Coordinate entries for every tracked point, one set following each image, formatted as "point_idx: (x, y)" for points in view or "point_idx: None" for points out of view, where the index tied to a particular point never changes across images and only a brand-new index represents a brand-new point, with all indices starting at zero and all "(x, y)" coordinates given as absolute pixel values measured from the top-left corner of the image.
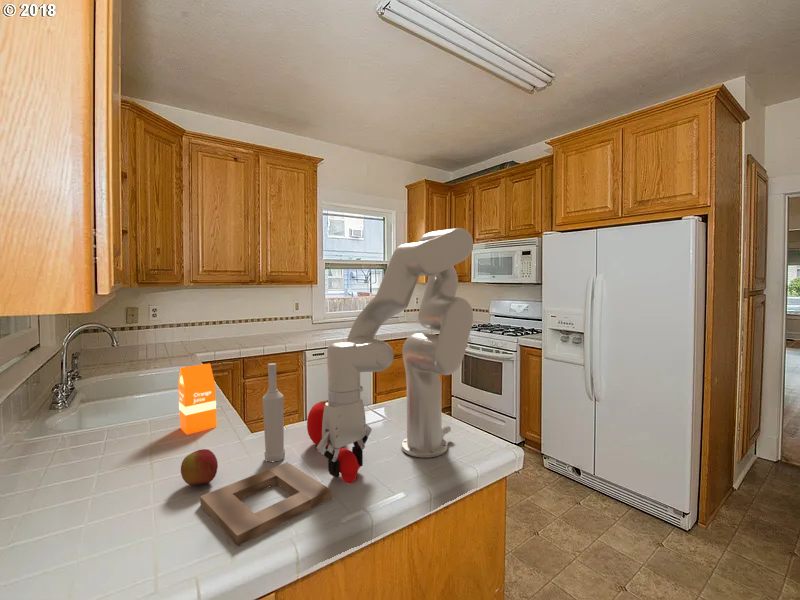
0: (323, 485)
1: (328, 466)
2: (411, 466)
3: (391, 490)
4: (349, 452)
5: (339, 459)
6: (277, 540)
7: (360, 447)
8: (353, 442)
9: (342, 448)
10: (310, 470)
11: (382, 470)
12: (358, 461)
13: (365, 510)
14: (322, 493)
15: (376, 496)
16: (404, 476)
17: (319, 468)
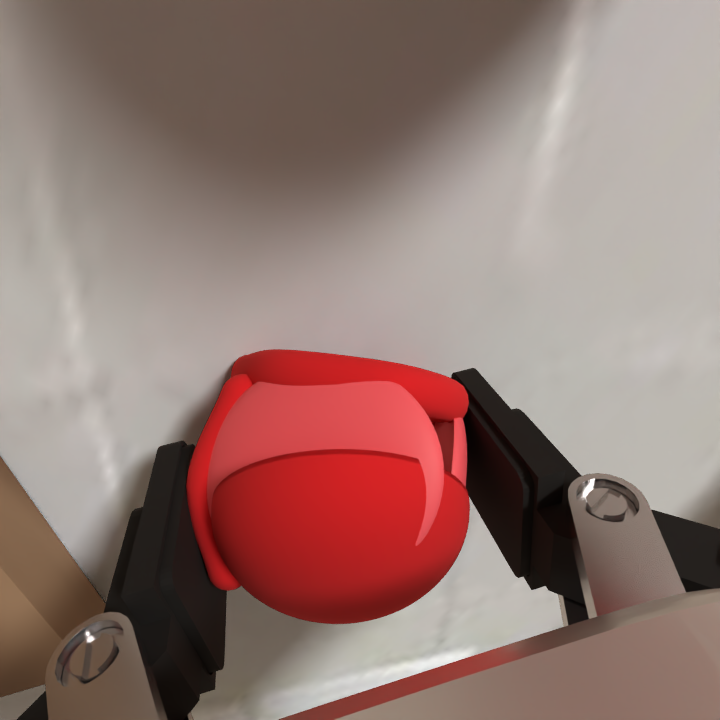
0: (38, 620)
1: (121, 554)
2: (693, 493)
3: (444, 629)
4: (411, 600)
5: (258, 599)
6: None
7: (560, 608)
8: (579, 561)
9: (390, 529)
10: (4, 94)
11: None
12: (466, 476)
13: (248, 710)
14: (8, 693)
15: (354, 647)
16: None
17: (138, 123)
